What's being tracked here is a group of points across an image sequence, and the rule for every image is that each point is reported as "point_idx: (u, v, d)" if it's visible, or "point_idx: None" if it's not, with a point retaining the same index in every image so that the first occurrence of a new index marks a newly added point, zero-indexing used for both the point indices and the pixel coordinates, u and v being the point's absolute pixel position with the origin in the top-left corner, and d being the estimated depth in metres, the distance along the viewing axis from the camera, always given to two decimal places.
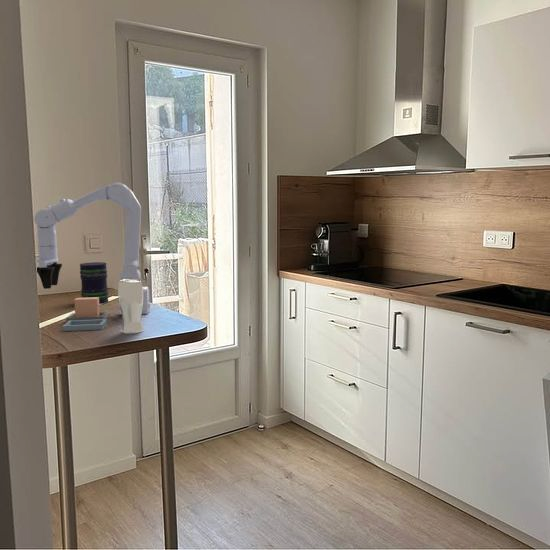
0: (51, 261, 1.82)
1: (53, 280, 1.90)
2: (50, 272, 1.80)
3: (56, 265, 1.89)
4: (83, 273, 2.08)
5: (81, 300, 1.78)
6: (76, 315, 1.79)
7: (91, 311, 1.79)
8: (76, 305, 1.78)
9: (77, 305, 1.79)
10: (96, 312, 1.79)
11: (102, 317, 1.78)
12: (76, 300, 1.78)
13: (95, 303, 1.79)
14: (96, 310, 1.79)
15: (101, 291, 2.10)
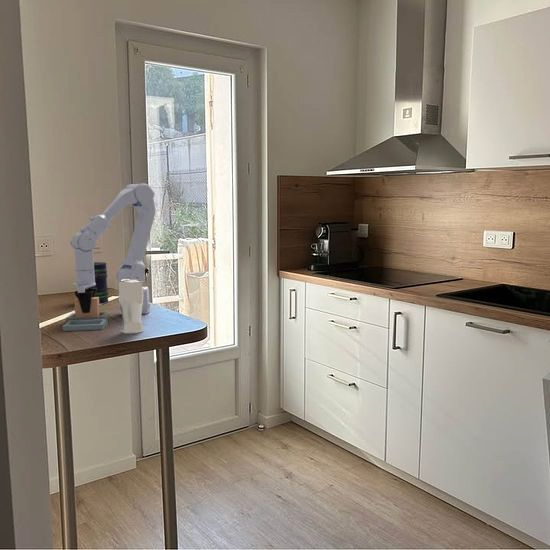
0: (89, 286, 1.76)
1: None
2: (89, 296, 1.77)
3: (91, 289, 1.82)
4: None
5: None
6: (76, 315, 1.79)
7: (91, 311, 1.79)
8: (76, 305, 1.78)
9: (77, 305, 1.79)
10: (96, 312, 1.79)
11: (102, 317, 1.78)
12: (76, 300, 1.78)
13: (95, 303, 1.79)
14: (96, 310, 1.79)
15: (101, 291, 2.10)
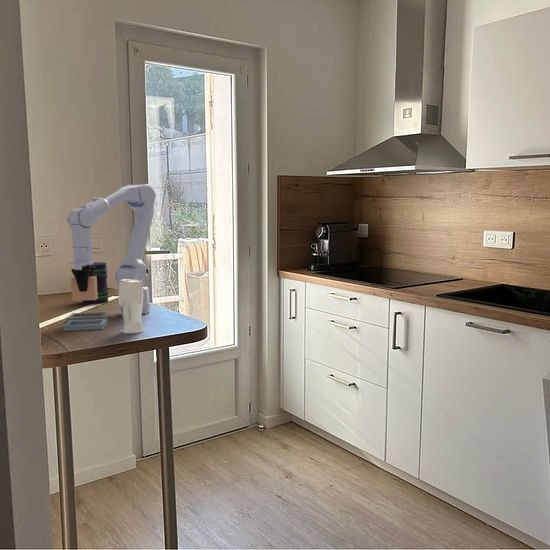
0: (86, 263, 1.70)
1: None
2: (87, 274, 1.70)
3: (89, 268, 1.76)
4: None
5: None
6: (73, 294, 1.73)
7: (88, 290, 1.73)
8: (73, 284, 1.72)
9: (74, 284, 1.72)
10: (93, 291, 1.73)
11: (102, 317, 1.78)
12: (73, 279, 1.72)
13: (92, 282, 1.73)
14: (93, 289, 1.73)
15: (101, 291, 2.10)
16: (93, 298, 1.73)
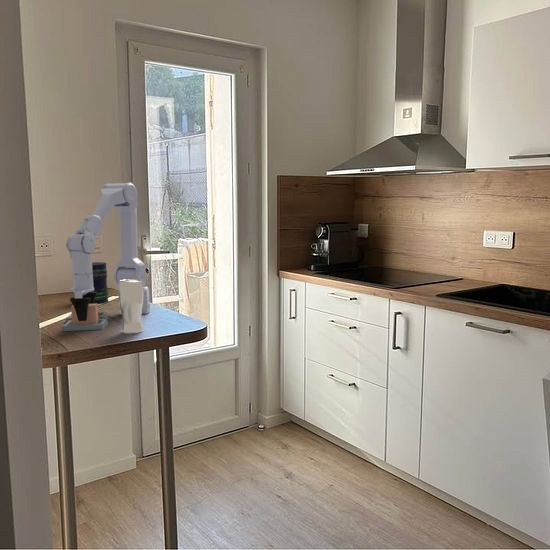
0: (87, 291, 1.64)
1: None
2: (86, 303, 1.63)
3: (91, 294, 1.72)
4: None
5: None
6: (73, 323, 1.67)
7: (89, 318, 1.67)
8: (73, 312, 1.66)
9: (74, 312, 1.66)
10: (94, 320, 1.67)
11: (102, 317, 1.78)
12: (73, 307, 1.66)
13: (93, 310, 1.67)
14: (94, 317, 1.67)
15: (101, 291, 2.10)
16: None
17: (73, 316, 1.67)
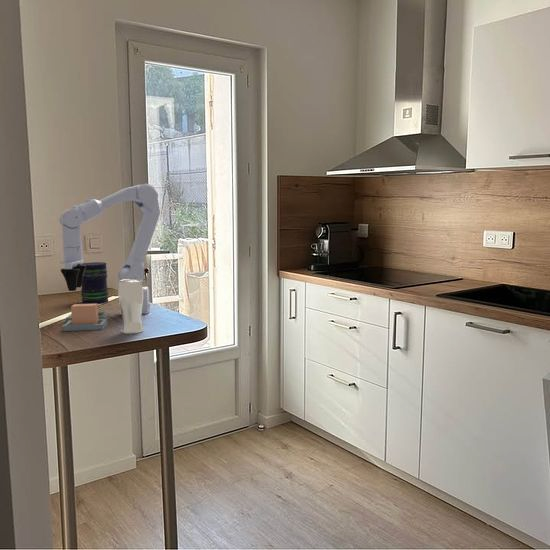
0: (76, 262, 1.76)
1: (77, 282, 1.84)
2: (76, 274, 1.75)
3: (80, 267, 1.84)
4: None
5: (78, 307, 1.66)
6: (73, 323, 1.67)
7: (89, 318, 1.67)
8: (73, 312, 1.66)
9: (74, 312, 1.66)
10: (94, 320, 1.67)
11: (102, 317, 1.78)
12: (73, 307, 1.66)
13: (93, 310, 1.67)
14: (94, 317, 1.67)
15: (101, 291, 2.10)
16: None
17: (73, 316, 1.67)
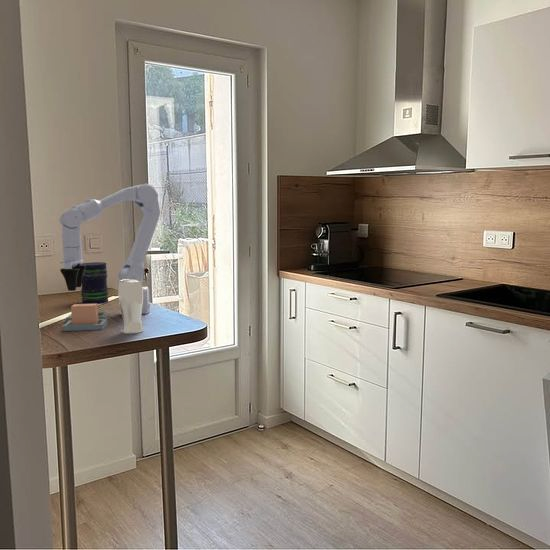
0: (76, 262, 1.77)
1: (77, 282, 1.85)
2: (75, 274, 1.76)
3: (80, 266, 1.84)
4: (83, 273, 2.08)
5: (78, 307, 1.66)
6: (73, 323, 1.67)
7: (89, 318, 1.67)
8: (73, 312, 1.66)
9: (74, 312, 1.66)
10: (94, 320, 1.67)
11: (102, 317, 1.78)
12: (73, 307, 1.66)
13: (93, 310, 1.67)
14: (94, 317, 1.67)
15: (101, 291, 2.10)
16: None
17: (73, 316, 1.67)
